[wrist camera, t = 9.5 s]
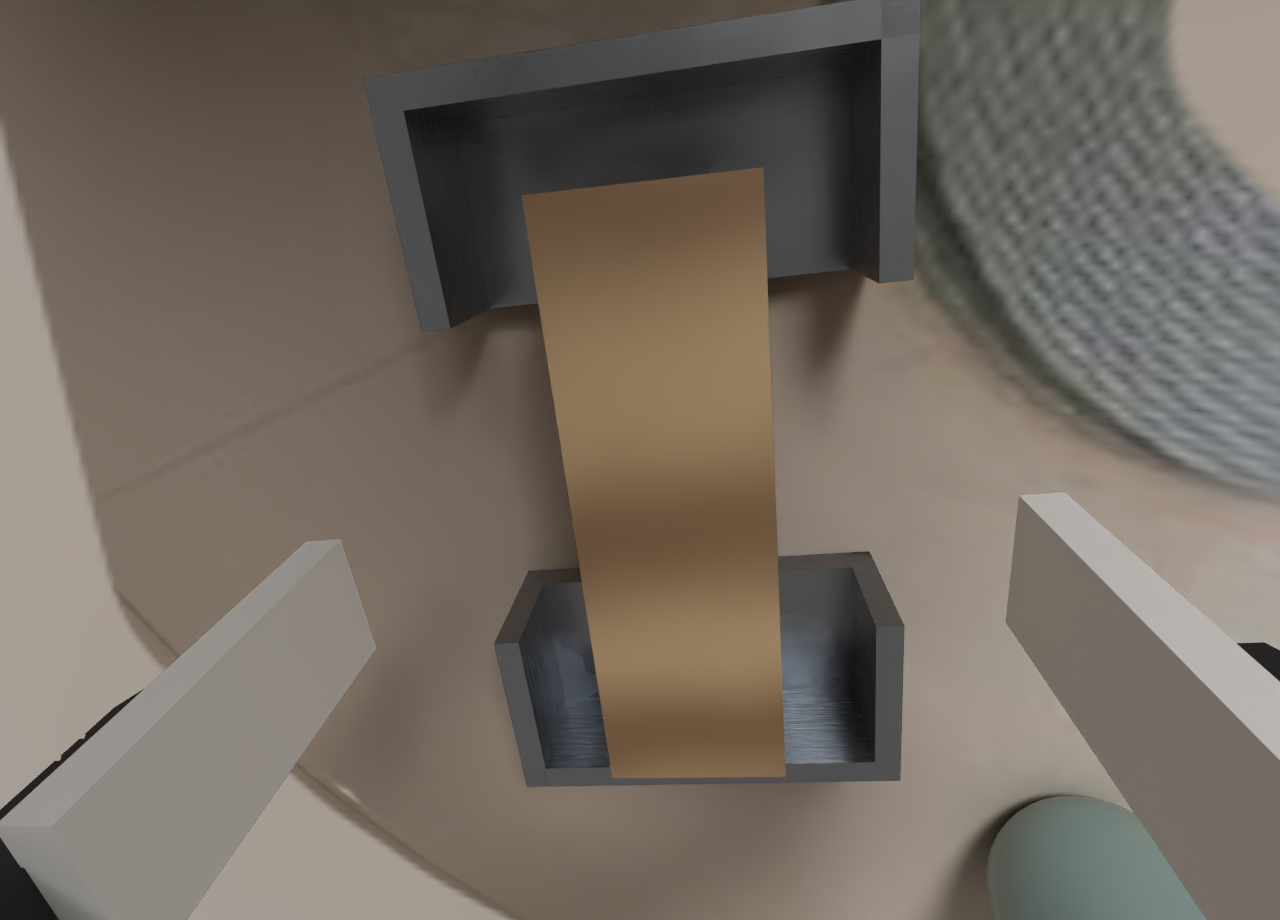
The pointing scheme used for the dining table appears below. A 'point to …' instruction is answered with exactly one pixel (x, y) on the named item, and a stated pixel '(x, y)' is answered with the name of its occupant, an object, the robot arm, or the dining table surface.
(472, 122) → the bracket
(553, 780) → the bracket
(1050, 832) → the cup
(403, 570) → the dining table surface
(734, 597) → the wooden block
